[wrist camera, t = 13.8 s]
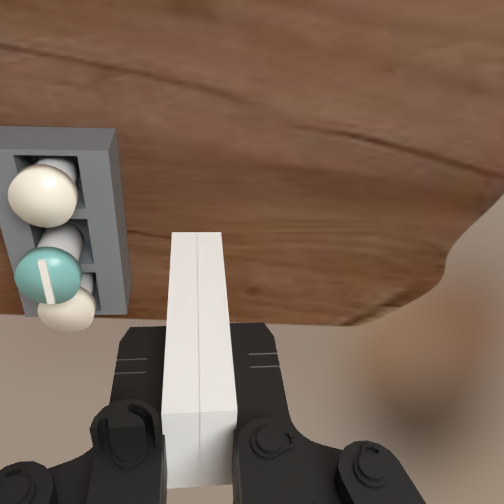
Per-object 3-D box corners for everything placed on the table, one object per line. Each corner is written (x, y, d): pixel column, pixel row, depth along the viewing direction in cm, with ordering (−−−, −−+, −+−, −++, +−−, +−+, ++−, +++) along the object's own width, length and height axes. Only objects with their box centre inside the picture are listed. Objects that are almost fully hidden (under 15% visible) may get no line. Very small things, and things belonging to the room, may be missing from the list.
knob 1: (36, 190, 44) (15, 227, 39) (24, 138, 41) (0, 171, 36) (92, 191, 45) (79, 227, 40) (84, 140, 42) (69, 172, 37)
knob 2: (58, 291, 51) (42, 333, 46) (49, 252, 48) (32, 293, 43) (106, 290, 52) (96, 332, 46) (100, 252, 49) (90, 292, 44)
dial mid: (41, 260, 45) (20, 307, 40) (30, 214, 43) (6, 258, 37) (95, 259, 46) (82, 306, 41) (88, 214, 43) (73, 258, 38)
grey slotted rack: (38, 285, 52) (25, 316, 48) (-1, 125, 42) (-22, 148, 38) (131, 283, 54) (127, 314, 49) (115, 128, 43) (108, 150, 39)
